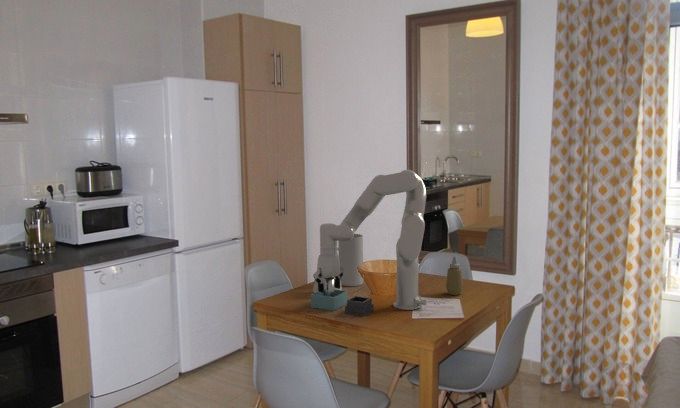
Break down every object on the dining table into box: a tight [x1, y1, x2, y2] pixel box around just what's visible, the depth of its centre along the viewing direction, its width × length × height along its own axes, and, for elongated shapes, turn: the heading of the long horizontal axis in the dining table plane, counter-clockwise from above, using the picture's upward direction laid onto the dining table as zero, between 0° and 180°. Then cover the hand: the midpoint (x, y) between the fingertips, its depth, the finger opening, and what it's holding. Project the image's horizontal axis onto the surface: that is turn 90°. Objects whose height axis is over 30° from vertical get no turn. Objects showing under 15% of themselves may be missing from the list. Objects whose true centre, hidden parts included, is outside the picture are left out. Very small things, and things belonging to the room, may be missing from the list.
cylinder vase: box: [337, 233, 364, 287], centre depth 286 cm, size 12×12×25 cm
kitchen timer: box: [312, 277, 343, 294], centre depth 268 cm, size 14×14×15 cm
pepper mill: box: [325, 276, 334, 297], centre depth 248 cm, size 5×5×13 cm
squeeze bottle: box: [445, 255, 464, 296], centre depth 265 cm, size 8×8×18 cm
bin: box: [310, 288, 349, 312], centre depth 249 cm, size 12×12×6 cm
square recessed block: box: [344, 295, 375, 317], centre depth 239 cm, size 9×9×6 cm
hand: (329, 290), depth 248 cm, fingers open, 9 cm apart
